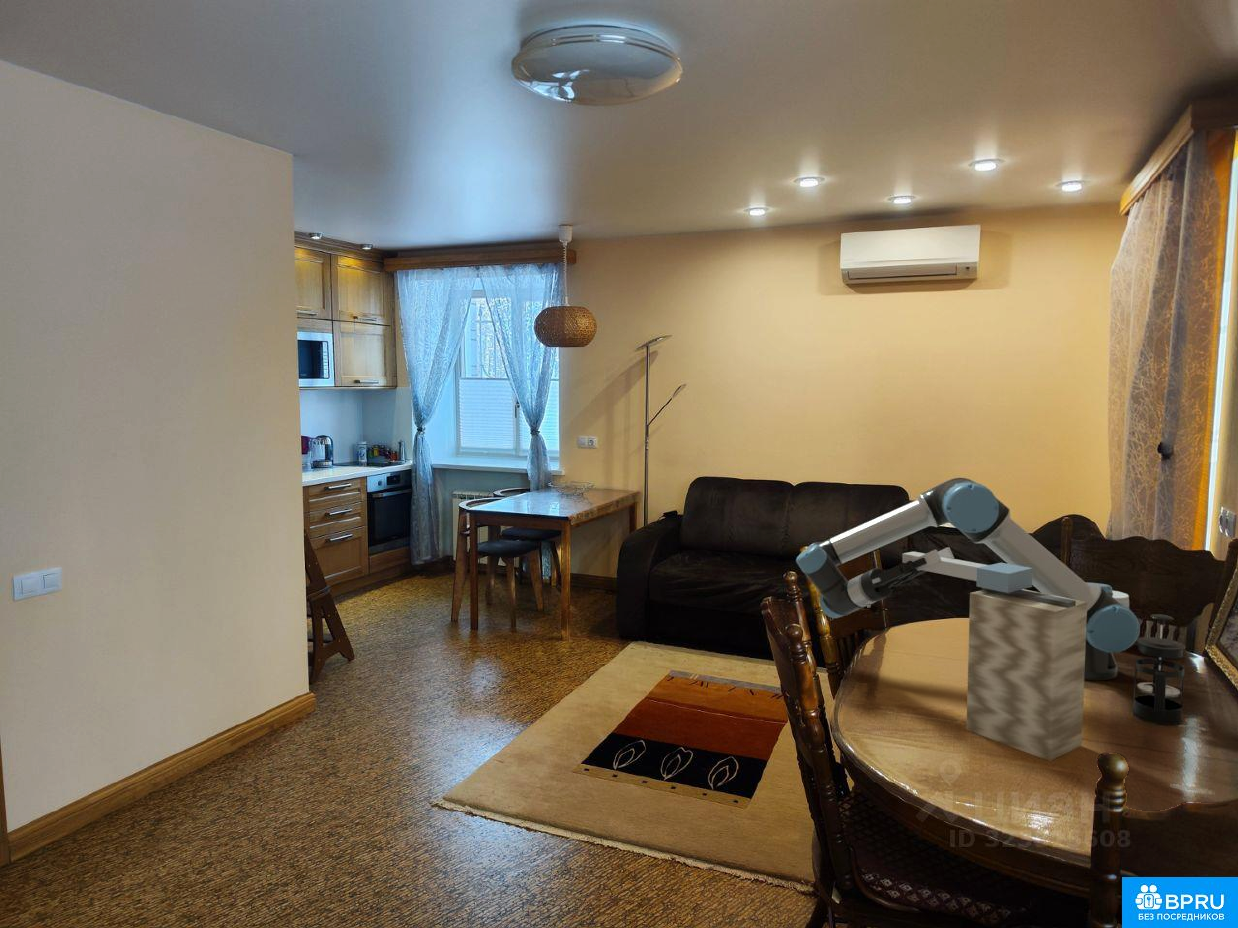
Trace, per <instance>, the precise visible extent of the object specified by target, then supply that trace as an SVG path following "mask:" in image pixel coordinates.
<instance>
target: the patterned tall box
mask: <svg viewBox="0 0 1238 928" xmlns="http://www.w3.org/2000/svg"><path fill="white" fill-rule="evenodd" d="M968 619H969V621H968V624H969V625H968V657H967V658H968V660H967V662H968V663H967V691H966V693H967V698H966V699H967V700H966V731H969V732H971V733H974V734H977V735H980V736H982V737H985V738H988V739H990V740H993V741H995V742H998V743H1001V744H1003V745H1007V746H1009V747H1012V748H1014V749H1017V750H1019V751H1022V752H1024V753H1027V754H1031V755H1033V756H1036V757H1038V758H1041V759H1043V760H1047V761H1049V762H1051V761H1053V760H1055V759H1057V758H1059V757H1062V756H1064V755H1066V754H1068V753H1070V752H1072V751H1074V750H1075V749H1078V748H1080V747H1081V746H1083V745H1082V744H1083V722H1084V721H1083V719H1084V717H1083V715H1084V693H1085V679H1084V672H1085V646H1086V621H1087V602H1084V601H1079V600H1074V599H1069V598H1064V597H1059V596H1054V595H1049V594H1044V593H1041V592H1040V591H1035V590H1034V591H1033V590H1029V589H1022V590H1018V591H1014V592H1010V593H1005V592H1001V591H996V590H991V589H986V588H982V587H981V590H977V591H973V592H972V591H971V592H970V593H969V617H968Z"/></svg>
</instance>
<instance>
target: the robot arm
mask: <svg viewBox="0 0 1238 928" xmlns="http://www.w3.org/2000/svg"><path fill="white" fill-rule="evenodd" d="M918 494H919V493H918ZM949 523H950V525H951V526H953V527H954V528H955V529H957V530H959V531H960V532H961V533H962V534H963V535H964V536H965V537H967V538H968V539H969V540H970V541H972V542H973V543H974V544H983V545H985V546H987V547H988V548H989V549H991V551H993V552H994V553H995V554H996V555H997V556H998V557H1000V559H1002V560H1003V561H1004V562H1005V563H1006V564H1012V565H1018V566H1023V567H1029V568H1033V575H1032V587H1034V588H1036V589H1037V590H1038V592H1039V593H1044V594H1049V595H1054V596H1059V597H1064V598H1069V599H1074V600H1079V601H1084V602H1087V621H1086V646H1085V672H1084V680H1090V681H1106V680H1107V681H1108V680H1112V679H1115V678H1117V676H1118V665H1117V664H1118V663H1117V661H1116V659H1115V656H1114V653H1115V654H1116V653H1121V652H1123V651H1126V650H1127V649H1129V648H1131V647H1132V646H1133V645H1134V644H1135V643H1136V642H1137V639H1138V638H1139V636H1140V629H1141V628H1140V622H1139V619H1138V618H1137V616H1136V615H1135V613H1134V612H1133V611H1132V610H1131V608H1130V607H1129V608H1127V607H1125V606H1123V605H1121V604H1120V603H1119V602H1118V601H1117V600H1115V599H1114V598H1113V597H1112V596H1113V592H1112V591H1113V587H1112V586H1111V585H1109V584H1106V583H1105V584H1104V583H1097V582H1085V580H1083V579H1082V578H1081V577H1080V576H1078V574H1076V573H1075V571H1073V570H1071V568H1069V567H1068V566H1067V565H1066V564H1065V563H1064V562H1062V561H1061V560H1059V558H1058V557H1056V556H1055V555H1054V554H1053V553H1052V552H1051V551H1049V550H1048V549H1047V548H1046V547H1045V546H1043V545H1042V544H1041V543H1040V542H1039V541H1037V539H1035V538H1034V537H1033V536H1032V535H1031V534H1030V533H1029V532H1027V531H1026V530H1024V529H1023V528H1022V527H1021V526H1020V525H1019V524H1017V522H1015V520H1013V519H1012V518H1011V510H1010V508H1009V507H1008V506H1006V505H1005V504H1004V503H1003V502H1001V500H999V499H998V498H997V497H996V495H994V493H993V491H992V490H990V489H989V488H988V487H987V486H985V485H983V484H981V483H978V482H976V481H974V480H972V479H969V478H965V477H954V478H951V479H949V480H946V481H943V482H942V483H940V484H938V485H936V486H934V487H932V488H930V489H928V490H926V491H924V492H922V493H920V494H919V495H918V497H917V498H916V500H913V501H911V502H909V503H907V504H904V505H902V506H900V507H897V508H895V509H893V510H891V511H889V512H886V513H884V514H882V515H880V516H878V517H875V518H873V519H871V520H868V521H866V522H864V523H861V524H859V525H857V526H855V527H853V528H850V529H848V530H846V531H843V532H842V533H840V534H837V535H835V536H832V537H830V538H829V539H826V540H824V541H821V542H813V543H812V544H810V545H808V546H807V548H806V549H804V550H803V551H802V552H801V553H799V555H798V556H796V559H795V562H796V564H797V565H798V567H799V568H800V571H801V572H802V573H804V575H805V576H806V577H807V579H808V580H810V582H811V583H812V584H813V586H814V587H815V589H817V590H818V592H819V593H820V596H819V605H820V606H821V610H822V612H823V613H824V614H825V615H826V616H827V617H829V618H832V619H838V618H841V617H844V616H848V615H850V614H852V613H855V612H856V611H858V610H861V609H863V608H866V607H867V608H869V609H870V608H871V607H872V604H875V603H876V602H879V601H882V600H884V599H886V598H889V597H890V596H892V594H893V593H892V592H893V590H894V589H893V587H897V586H899V585H902V583H905V582H907V581H910V580H912V579H913V578H916V577H917V576H918V577H919V576H920V575H921V574H924V573H927V572H928V571H924V570H922V569H924V568H926V567H928V566H931V565H933V564H935V563H937V562H940V561H942V560H941V558H940V556H941V557H946V558H952V559H955V557H954V554H953V551H952V550H951V548H950V546H948V547H944V548H943V549H940V550H939V551H938V550H937V549H934V550H930V551H929V552H926V553H924V555H922V556H920V557H918V558H916V559H914V560H913V562H912V561H908V562H907V563H902V562H901V563H900V564H897V565H895V566H893V567H891V568H889V569H886V570H883V569H882V568H881V569H880V568H876V567H875V568H873V569H870V570H868V571H866V572H864V573H861V574H859V575H857V576H855V577H853V578H851V579H849V580H847V578H846V577H845V575H844V574H843V573H842V572H841V570H840V569H839V567H838V566H840V565H842V564H844V563H846V562H848V561H852V560H855V559H856V558H859V557H860V556H863V555H865V554H867V553H870V552H872V551H874V550H877V549H879V548H882V547H884V546H886V545H888V544H891V543H893V542H896V541H897V540H900V539H902V538H904V537H907V536H910V535H912V534H914V533H916V532H918V531H921V530H924V529H926V528H928V527H935V528H938V527H941V526H942V525H945V524H946V525H947V524H949ZM916 568H917V569H916Z"/></svg>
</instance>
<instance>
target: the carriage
mask: <svg viewBox="0 0 1238 928" xmlns="http://www.w3.org/2000/svg"><path fill="white" fill-rule="evenodd" d="M924 554H925V553H924V552H918V551H909V552H904V553H902V556H901V557H902V562H901V563H907V562H908V561H912V562H913V560H914V559H916V558H918V557H920V556H922V555H924ZM940 558H941V560H942V561H940V562H937V563H935V564H933V565H931V566H928V567H926V568H924V569H922V570H924V571H927V572H930V573H935V574H939V575H940V574H941V575H945V576H950V577H954V578H959V579H964V580H968V581H974V582H976V587H978V588H981V589H982V588H986V589H991V590H996V591H1001V592H1005V593H1010V592H1014V591H1018V590H1022V589H1024V590H1026V589H1029V588H1033V585H1032V575H1033V568H1029V567H1023V566H1018V565H1012V564H1008V563H1007V562H1005V563H1004V562H998V563H993V564H984V563H977V562H973V561H968V560H962V559H958V558H957V559H956V558H953V559H952V558H946V557H941V556H940ZM916 569H917V568H916Z"/></svg>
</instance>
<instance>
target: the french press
mask: <svg viewBox="0 0 1238 928" xmlns="http://www.w3.org/2000/svg"><path fill="white" fill-rule="evenodd" d="M1150 618H1152V619H1155V620H1158V624H1159V625H1160V627H1159V628H1160V629H1159V630H1160V631H1159V637H1157V636H1155V637H1154V636H1142V637H1138V638H1137V640H1136V643H1137V644H1138V651H1139V652H1140V653H1141V654H1145V655H1147V656H1151V657H1141V658H1137V659H1135V663H1134V664H1135V667H1134V668H1135V669H1134V688H1133V689H1134V690H1133V709H1132V710H1131V713H1132V716H1133V717H1136V718H1137V719H1138V720H1142V721H1143V722H1147V723H1151V724H1155V725H1159V726H1171V727H1172V726H1179V725H1182V724H1183V723H1184V719H1183V707H1184V706H1183V705H1184V704H1183V703H1184V687H1185V686H1184V685H1185V684H1184V683H1185V667H1184V665H1182V664H1180V663H1178V662H1175V661H1173V660H1172V661H1171V660H1168V659H1180V658H1182V657H1183V656H1184V655H1183V653H1184V651H1183V650H1186V648H1187V647H1186V645H1185V644H1184V643H1182V642H1180V641H1176V640H1174V639H1171V638H1170V639H1169V638H1165V637H1163V626H1165V621H1173V620H1174V618H1173V617H1172V616H1169V615H1167V614H1166V615H1165V614H1160V613H1156V614H1151V615H1150ZM1154 657H1155V658H1154ZM1145 665H1153V668H1151V667H1146V666H1145ZM1164 667H1168V668H1173V669H1175V670H1176V671H1175V670H1172V671H1171V670H1164ZM1138 671H1140V672H1142V673H1144V674H1148V675H1151V676H1152V682H1145V681H1144V682H1139V683H1138V682H1137V676H1138V675H1137V673H1138ZM1167 678H1181V690H1180V689H1179V688H1176V687H1174V686H1172V685H1168V684H1167ZM1137 691H1138V692H1139V693H1142V694H1141V695H1137ZM1179 698H1180V702H1178V701H1176V700H1174V699H1179Z"/></svg>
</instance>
